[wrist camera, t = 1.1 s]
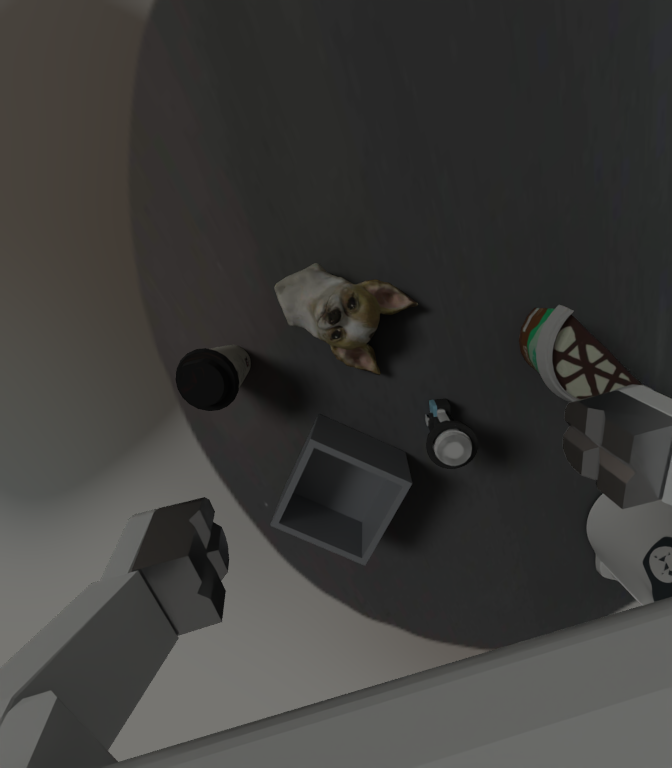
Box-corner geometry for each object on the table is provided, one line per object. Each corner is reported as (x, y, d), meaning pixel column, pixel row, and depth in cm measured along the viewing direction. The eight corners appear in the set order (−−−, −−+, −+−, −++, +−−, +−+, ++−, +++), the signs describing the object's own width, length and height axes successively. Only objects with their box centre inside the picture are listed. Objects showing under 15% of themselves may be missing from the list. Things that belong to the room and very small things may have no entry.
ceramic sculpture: (293, 234, 36) (431, 304, 38) (302, 238, 45) (416, 296, 46) (251, 335, 40) (381, 395, 41) (267, 321, 48) (375, 372, 50)
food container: (485, 338, 46) (517, 355, 37) (525, 299, 45) (569, 306, 35) (555, 403, 48) (602, 436, 39) (596, 368, 47) (656, 393, 37)
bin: (405, 451, 51) (412, 483, 44) (364, 524, 55) (365, 565, 47) (318, 413, 51) (310, 438, 43) (283, 489, 54) (270, 525, 47)
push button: (459, 442, 50) (481, 482, 41) (418, 446, 51) (430, 486, 41) (457, 394, 49) (480, 424, 39) (414, 398, 49) (426, 429, 40)
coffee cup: (266, 347, 49) (242, 365, 39) (251, 396, 51) (224, 425, 41) (214, 327, 48) (177, 341, 39) (201, 377, 50) (162, 402, 41)
